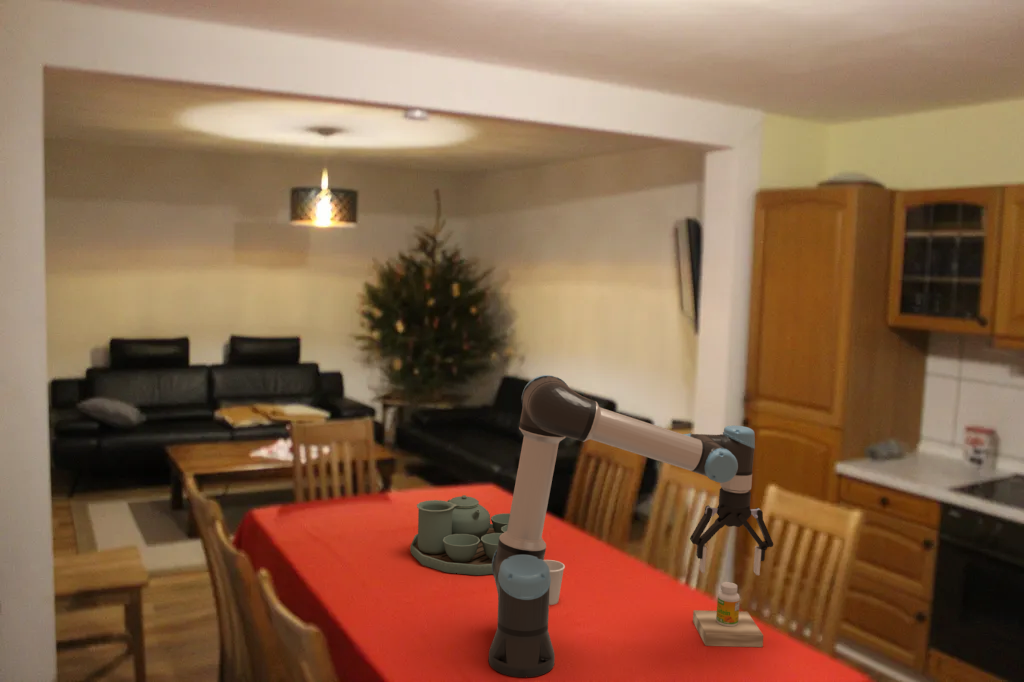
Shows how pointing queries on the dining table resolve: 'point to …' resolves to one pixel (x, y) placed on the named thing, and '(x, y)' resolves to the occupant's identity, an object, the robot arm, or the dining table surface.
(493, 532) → the tea set
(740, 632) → the birch stand
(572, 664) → the dining table surface
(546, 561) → the dixie cup
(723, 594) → the supplement bottle
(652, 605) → the dining table surface
